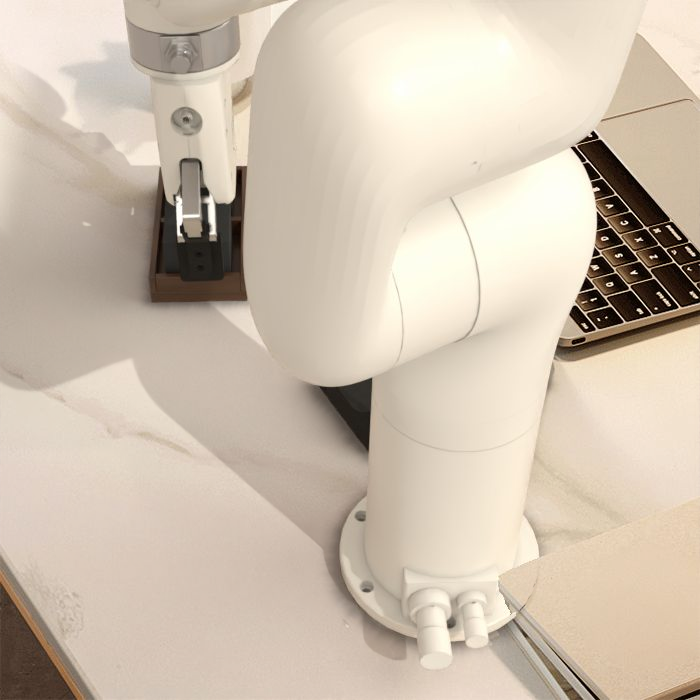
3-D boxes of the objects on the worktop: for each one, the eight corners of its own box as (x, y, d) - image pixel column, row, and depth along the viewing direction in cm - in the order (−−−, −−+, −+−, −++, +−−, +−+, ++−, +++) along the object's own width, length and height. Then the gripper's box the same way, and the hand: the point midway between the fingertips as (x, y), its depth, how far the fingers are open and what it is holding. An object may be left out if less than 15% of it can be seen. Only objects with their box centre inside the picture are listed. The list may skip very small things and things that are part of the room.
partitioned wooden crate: (247, 300, 98) (245, 250, 95) (151, 302, 98) (145, 252, 95) (248, 189, 109) (246, 140, 105) (161, 190, 108) (156, 141, 105)
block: (231, 282, 98) (229, 241, 96) (166, 283, 98) (162, 243, 95) (232, 241, 102) (230, 201, 99) (169, 242, 102) (165, 202, 99)
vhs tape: (539, 384, 92) (543, 365, 91) (369, 454, 87) (370, 434, 86) (482, 322, 97) (485, 303, 96) (317, 385, 92) (317, 365, 91)
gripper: (239, 98, 79) (254, 310, 91) (240, -25, 92) (253, 174, 103) (117, 102, 79) (148, 314, 90) (136, -22, 92) (161, 177, 103)
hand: (204, 239), depth 97 cm, fingers open, 9 cm apart
